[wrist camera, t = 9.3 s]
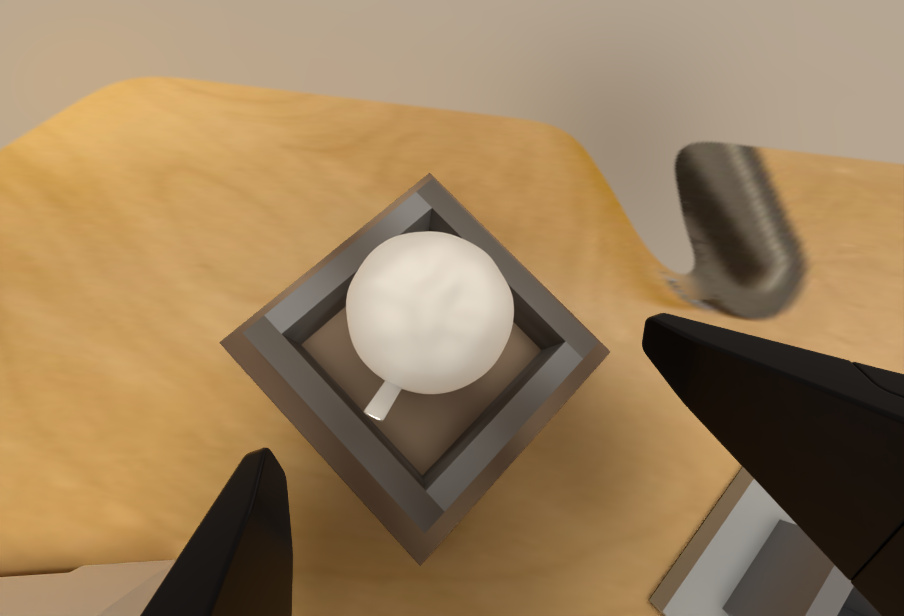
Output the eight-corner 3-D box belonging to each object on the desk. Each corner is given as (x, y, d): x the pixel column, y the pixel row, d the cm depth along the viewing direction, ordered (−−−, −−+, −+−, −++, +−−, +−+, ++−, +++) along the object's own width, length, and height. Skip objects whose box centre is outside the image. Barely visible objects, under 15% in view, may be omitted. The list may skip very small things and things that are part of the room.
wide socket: (419, 556, 18) (423, 601, 14) (229, 345, 19) (182, 331, 15) (600, 354, 21) (646, 343, 17) (428, 183, 22) (433, 135, 18)
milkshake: (344, 385, 18) (272, 368, 8) (399, 284, 19) (393, 166, 10) (434, 430, 18) (470, 466, 8) (483, 325, 19) (562, 251, 10)
